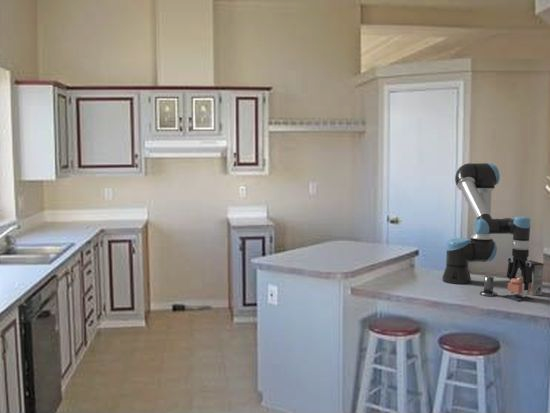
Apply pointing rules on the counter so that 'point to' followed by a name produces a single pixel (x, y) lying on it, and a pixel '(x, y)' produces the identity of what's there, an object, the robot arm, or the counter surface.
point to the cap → (517, 285)
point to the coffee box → (536, 278)
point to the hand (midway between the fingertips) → (518, 294)
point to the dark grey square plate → (518, 297)
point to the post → (488, 287)
